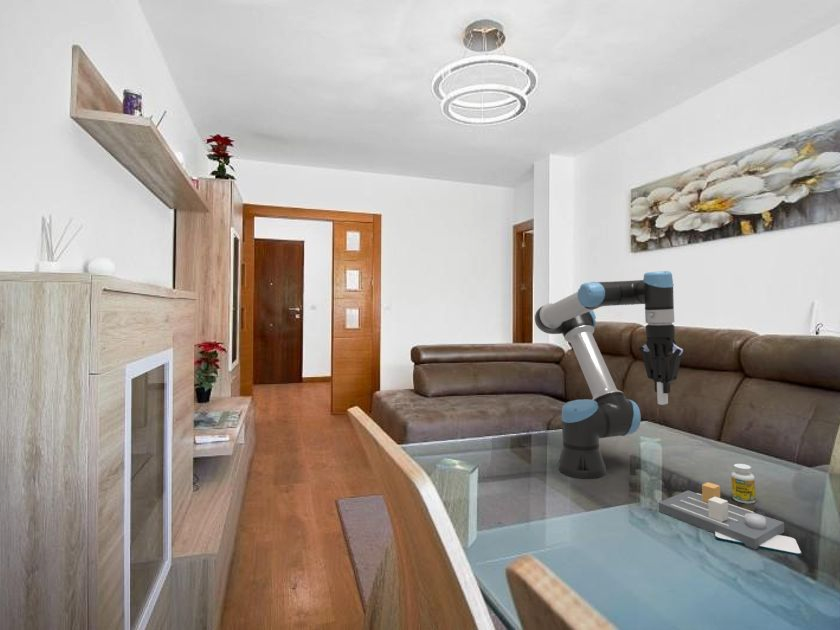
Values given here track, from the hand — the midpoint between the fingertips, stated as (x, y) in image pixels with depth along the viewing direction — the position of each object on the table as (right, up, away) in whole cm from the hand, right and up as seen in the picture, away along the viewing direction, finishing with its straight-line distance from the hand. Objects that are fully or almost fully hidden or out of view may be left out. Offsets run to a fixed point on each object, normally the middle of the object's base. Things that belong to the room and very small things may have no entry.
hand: (662, 403), depth 132 cm
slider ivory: (+2, -24, -21) cm, 32 cm away
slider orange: (+6, -24, -13) cm, 28 cm away
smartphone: (+7, -27, -27) cm, 39 cm away
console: (+5, -27, -18) cm, 32 cm away
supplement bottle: (+19, -26, -7) cm, 33 cm away
